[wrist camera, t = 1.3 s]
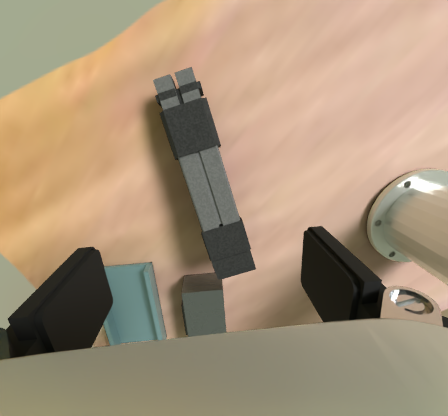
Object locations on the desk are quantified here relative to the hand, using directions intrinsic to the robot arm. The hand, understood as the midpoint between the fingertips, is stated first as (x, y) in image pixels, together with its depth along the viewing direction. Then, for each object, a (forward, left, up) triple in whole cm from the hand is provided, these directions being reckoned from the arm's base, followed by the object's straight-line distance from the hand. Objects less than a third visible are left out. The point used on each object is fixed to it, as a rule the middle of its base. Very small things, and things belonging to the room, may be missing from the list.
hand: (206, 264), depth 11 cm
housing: (+2, +18, -18) cm, 25 cm away
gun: (0, 0, -18) cm, 18 cm away
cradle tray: (+12, +17, -18) cm, 27 cm away
